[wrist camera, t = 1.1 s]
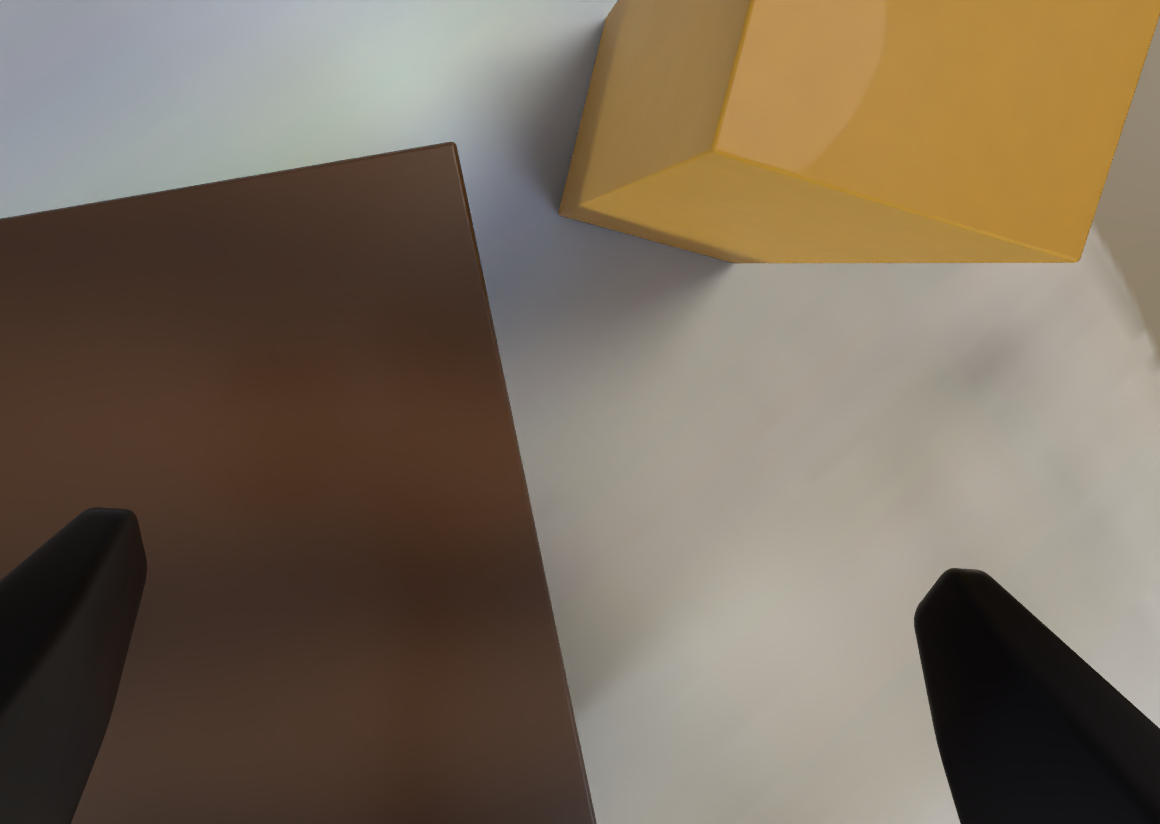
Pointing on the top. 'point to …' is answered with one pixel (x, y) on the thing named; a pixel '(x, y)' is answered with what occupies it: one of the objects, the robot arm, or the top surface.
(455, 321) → the board stand
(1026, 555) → the top surface
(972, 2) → the block
